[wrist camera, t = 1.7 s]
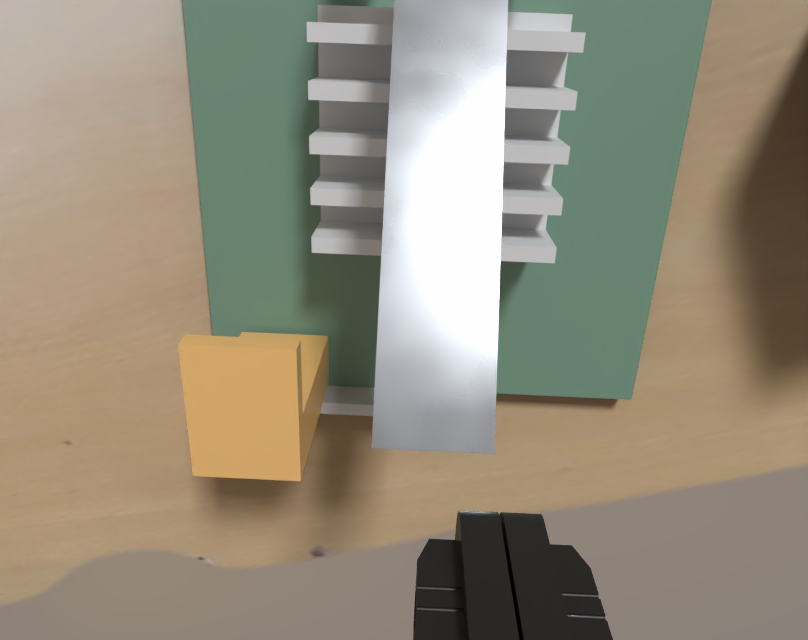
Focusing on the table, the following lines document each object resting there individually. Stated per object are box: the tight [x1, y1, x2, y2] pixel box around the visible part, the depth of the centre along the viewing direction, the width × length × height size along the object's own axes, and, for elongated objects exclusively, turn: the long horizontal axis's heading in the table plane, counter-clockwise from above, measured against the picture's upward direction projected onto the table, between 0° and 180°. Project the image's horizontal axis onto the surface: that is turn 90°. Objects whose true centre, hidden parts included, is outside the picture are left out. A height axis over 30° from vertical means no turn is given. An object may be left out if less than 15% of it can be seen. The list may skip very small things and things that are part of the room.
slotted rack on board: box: [182, 0, 712, 416], centre depth 24 cm, size 20×25×8 cm
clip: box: [178, 332, 329, 481], centre depth 26 cm, size 4×5×8 cm
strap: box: [371, 0, 508, 454], centre depth 17 cm, size 4×16×1 cm, turn 178°
